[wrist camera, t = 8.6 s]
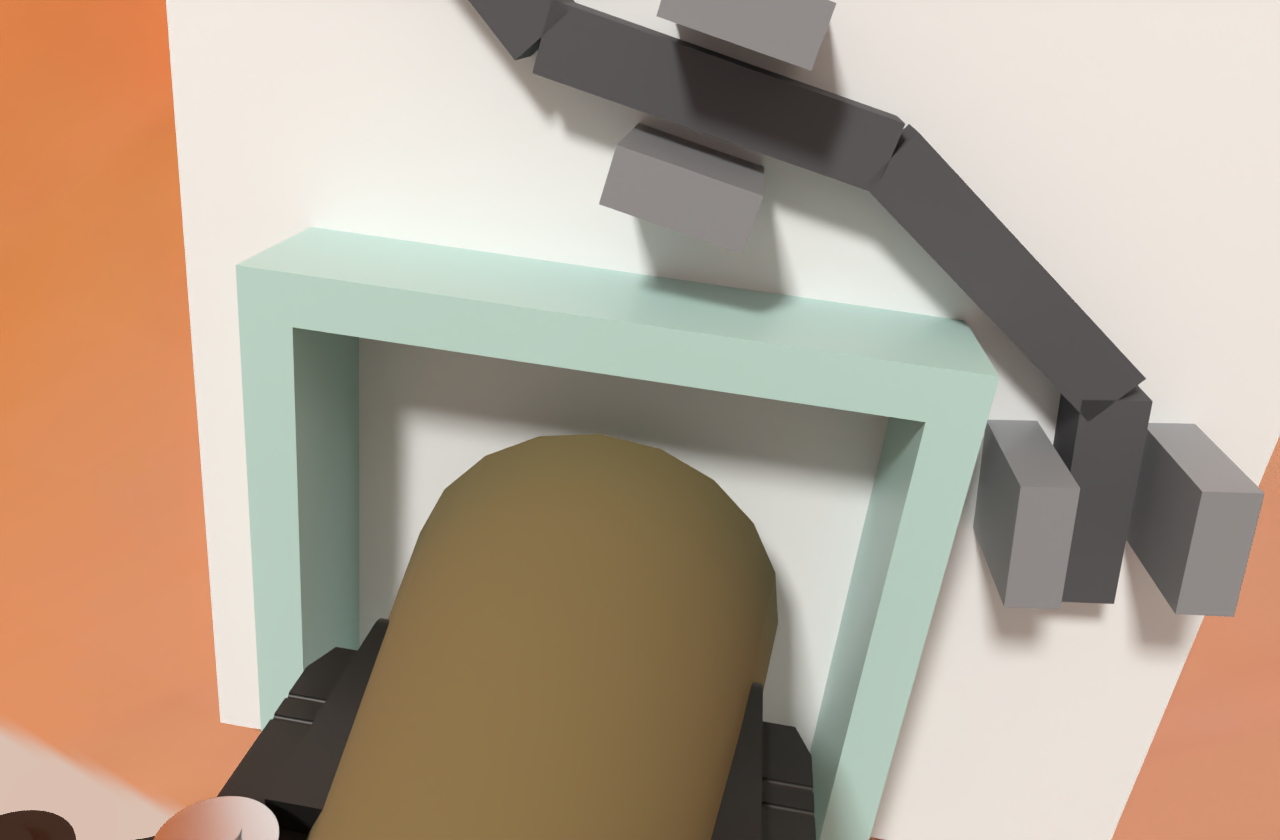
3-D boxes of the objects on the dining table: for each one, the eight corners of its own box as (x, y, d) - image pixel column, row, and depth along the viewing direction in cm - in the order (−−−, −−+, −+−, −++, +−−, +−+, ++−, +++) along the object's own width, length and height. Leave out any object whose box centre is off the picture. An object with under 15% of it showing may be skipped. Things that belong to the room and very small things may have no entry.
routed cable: (1233, 478, 16) (1262, 507, 15) (1059, 594, 17) (1076, 628, 16) (456, -385, 13) (432, -414, 12) (308, -166, 14) (275, -177, 13)
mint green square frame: (965, 320, 15) (999, 377, 13) (834, 822, 20) (843, 931, 17) (310, 226, 16) (235, 264, 14) (322, 733, 20) (266, 825, 18)
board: (1525, -252, 13) (1755, -327, 10) (1083, 844, 20) (1137, 988, 17) (169, -394, 14) (4, -499, 11) (239, 697, 21) (155, 808, 18)
